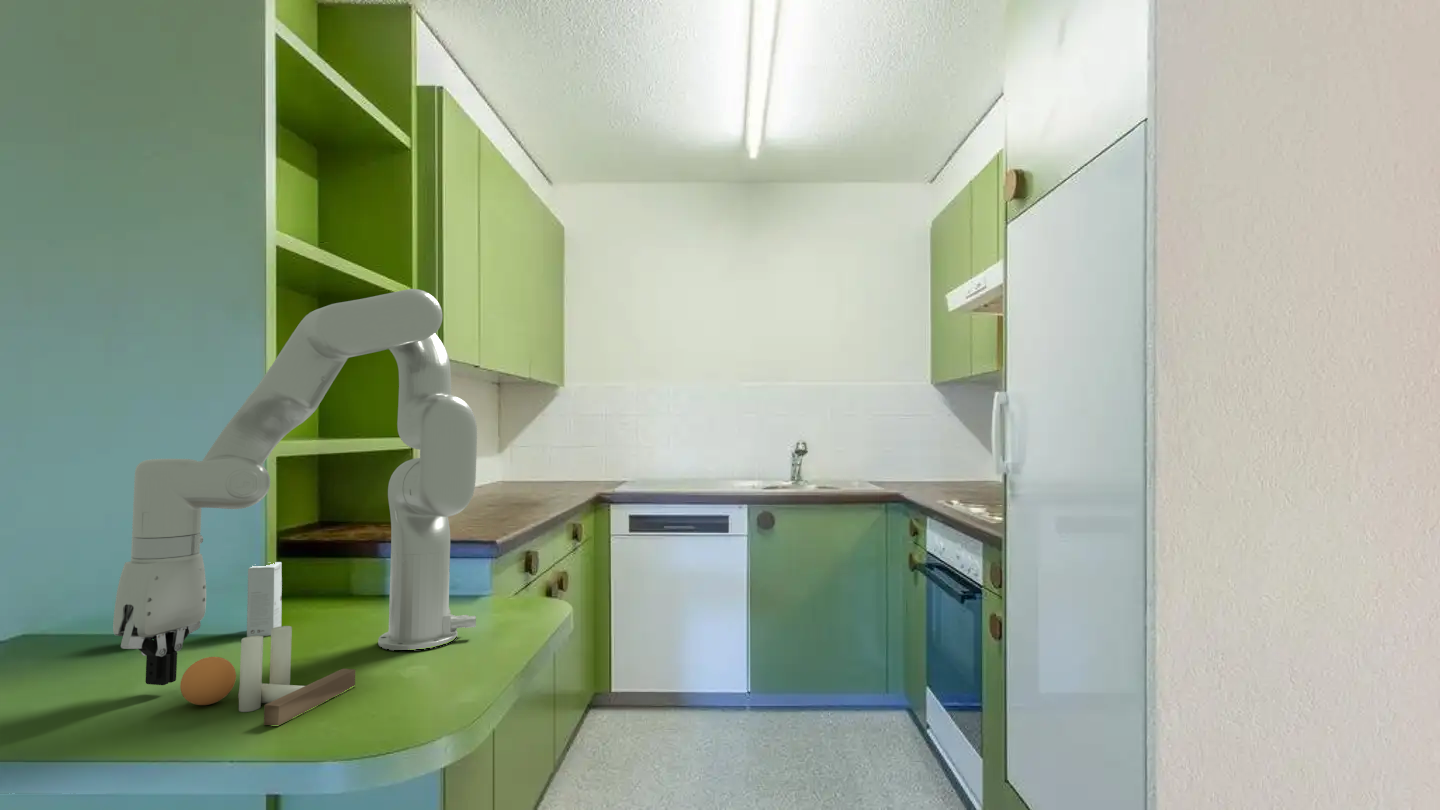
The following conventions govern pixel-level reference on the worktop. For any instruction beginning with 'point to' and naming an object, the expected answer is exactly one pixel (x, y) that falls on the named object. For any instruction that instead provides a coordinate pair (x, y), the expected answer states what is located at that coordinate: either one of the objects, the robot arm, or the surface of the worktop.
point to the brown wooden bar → (308, 697)
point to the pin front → (275, 691)
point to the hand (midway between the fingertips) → (160, 682)
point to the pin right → (280, 655)
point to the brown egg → (208, 680)
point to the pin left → (250, 673)
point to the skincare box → (264, 599)
